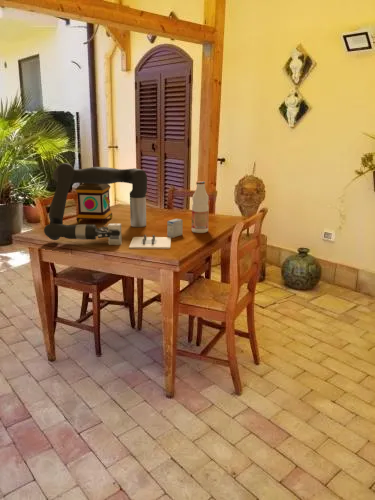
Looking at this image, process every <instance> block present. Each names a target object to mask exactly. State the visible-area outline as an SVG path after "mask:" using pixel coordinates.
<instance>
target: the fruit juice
mask: <svg viewBox="0 0 375 500" xmlns="http://www.w3.org/2000/svg"><path fill="white" fill-rule="evenodd" d="M195 185H196V188H195V191H194V192H193V195H192V198H191V199H192V205H191V231H192V233H196V234H204V233H207V232H208V231H209V210H210V209H209V206H210V205H209V199H210V196H209V195H208V193H207V190H206V181H201V180H199V181H196V183H195Z"/></svg>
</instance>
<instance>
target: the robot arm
mask: <svg viewBox="0 0 375 500" xmlns="http://www.w3.org/2000/svg"><path fill="white" fill-rule="evenodd" d="M52 177H53V180H54V181H55V182H56V188H55V191H54V195H53V197H52V200H51V202H50V208H49V214H48V219H49V223H48V224H46V226H45V227H44V228H43V233H44V235H45V236H46V237H47V238H49V239H50V240H51V241H58V240H59V239H60V238H65V239H67V240H68V239H69V240H84V241H85V240H86V241H87V240H89V241H90V240H96V239H97V238H98V239H105V238H108V237H110V236H119V235H120V231H108V226H102V227H99V228H98V227H97V225H96V224H69V225H68V224H64V221H63V219H64V214H65V210H66V205H67V199H68V195H69V190H70V187H71V184H77V183H79V184H83V183H91V184H109V185H111V184H116V183H126V184H131V185H132V186H131V188H132V189H131V191H129V211H130V212H129V213H130V227H133V228H143V227H146V226H147V201H146V200H147V199H146V198H147V196H146V195H147V192H148V177H147V173H146V170H143V169H140V168H114V167H107V166H106V167H105V166H93V167H86V168H80V169H78V168H77V169H76V168H74V167H73V166H72V165H71V164H70V163H69V162H63V163H61V164H59V165H57V167H55V169H54V170H53V172H52Z"/></svg>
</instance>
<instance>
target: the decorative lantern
mask: <svg viewBox="0 0 375 500" xmlns="http://www.w3.org/2000/svg"><path fill="white" fill-rule="evenodd" d="M110 188H111V184H91V183H81V184H80V185H78V186H77V187H76V188H75V189H74V190H75V192H76V196H77V207H78V209H77V210H78V213H77V216H76V222H77V224H80V222H81V220H99V221H100V220H101V221H102V224H103V225H105V224H106V219H108V217H109V218H110V219H112V218H113V212H112V210H111V207H110V205H111V200H110Z"/></svg>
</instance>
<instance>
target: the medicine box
mask: <svg viewBox="0 0 375 500" xmlns="http://www.w3.org/2000/svg"><path fill="white" fill-rule="evenodd" d="M183 222H184V221H183V219H181V218H173V219H170V220H167V222H166V223H167V225H166V228H167V229H166V230H167V234H166V235H167V236H166V237H171V239H172V238H176V237H179V236H183V228H184V227H183V226H184V224H183Z"/></svg>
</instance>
